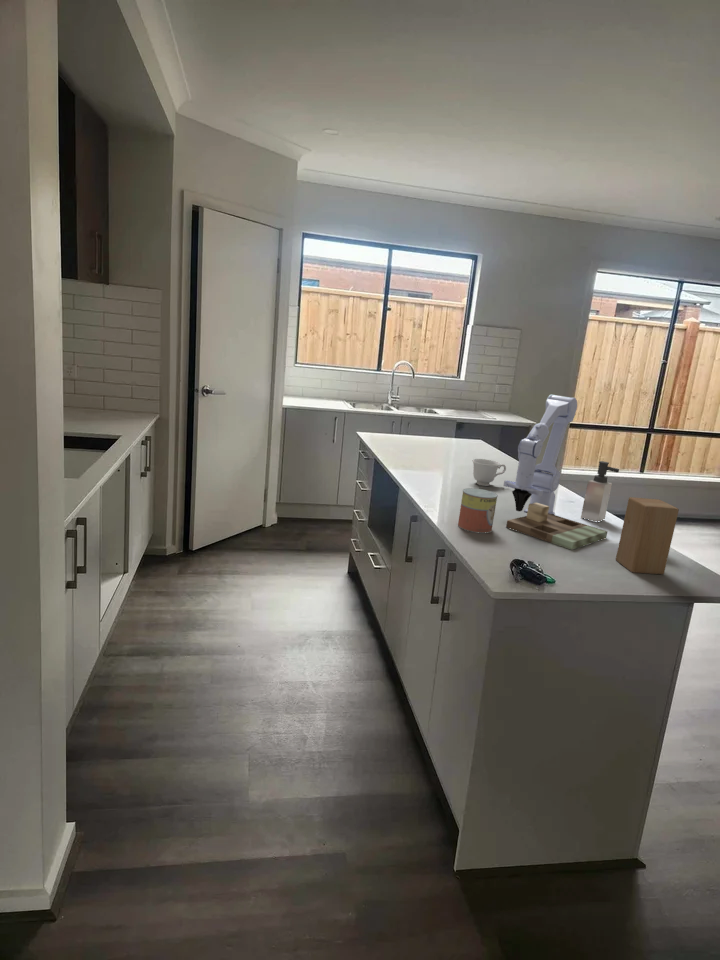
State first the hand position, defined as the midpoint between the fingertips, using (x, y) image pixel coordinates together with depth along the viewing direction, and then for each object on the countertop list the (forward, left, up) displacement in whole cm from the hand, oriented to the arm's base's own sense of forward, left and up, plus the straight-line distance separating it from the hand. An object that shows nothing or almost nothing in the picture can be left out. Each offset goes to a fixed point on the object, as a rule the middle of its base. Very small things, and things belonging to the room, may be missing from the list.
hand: (519, 510), depth 219 cm
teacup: (-36, -39, -4) cm, 53 cm away
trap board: (0, +15, -3) cm, 16 cm away
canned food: (+23, -2, -4) cm, 23 cm away
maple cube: (0, +7, -1) cm, 7 cm away
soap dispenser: (-31, +14, -4) cm, 34 cm away
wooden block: (+7, +46, -4) cm, 47 cm away
